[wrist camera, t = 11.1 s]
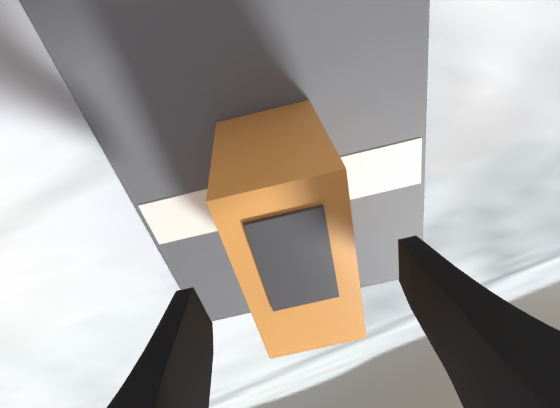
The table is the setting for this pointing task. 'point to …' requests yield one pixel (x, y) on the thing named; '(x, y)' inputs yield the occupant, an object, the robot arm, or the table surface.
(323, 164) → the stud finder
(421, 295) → the robot arm
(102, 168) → the table surface
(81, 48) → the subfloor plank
